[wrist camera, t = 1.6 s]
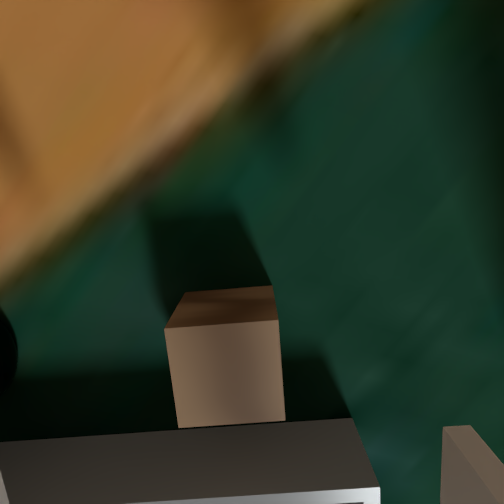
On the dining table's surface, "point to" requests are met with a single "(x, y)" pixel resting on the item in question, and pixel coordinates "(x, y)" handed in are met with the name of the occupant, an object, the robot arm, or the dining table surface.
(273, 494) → the tote
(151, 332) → the dining table surface
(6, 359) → the supplement bottle
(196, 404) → the walnut cube
